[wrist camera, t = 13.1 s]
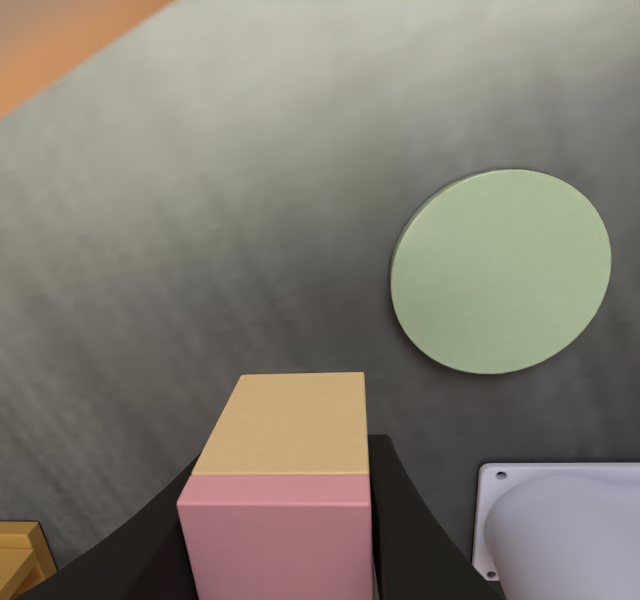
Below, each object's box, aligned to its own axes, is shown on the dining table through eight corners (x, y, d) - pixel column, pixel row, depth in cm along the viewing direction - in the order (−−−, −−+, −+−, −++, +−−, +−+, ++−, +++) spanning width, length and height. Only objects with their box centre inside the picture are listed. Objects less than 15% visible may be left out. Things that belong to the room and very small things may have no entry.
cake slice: (364, 371, 12) (371, 504, 8) (368, 486, 14) (376, 659, 9) (240, 374, 13) (174, 503, 8) (257, 486, 14) (209, 652, 9)
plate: (617, 161, 16) (630, 161, 15) (584, 363, 19) (593, 372, 18) (387, 176, 17) (389, 177, 16) (390, 368, 20) (391, 376, 19)
